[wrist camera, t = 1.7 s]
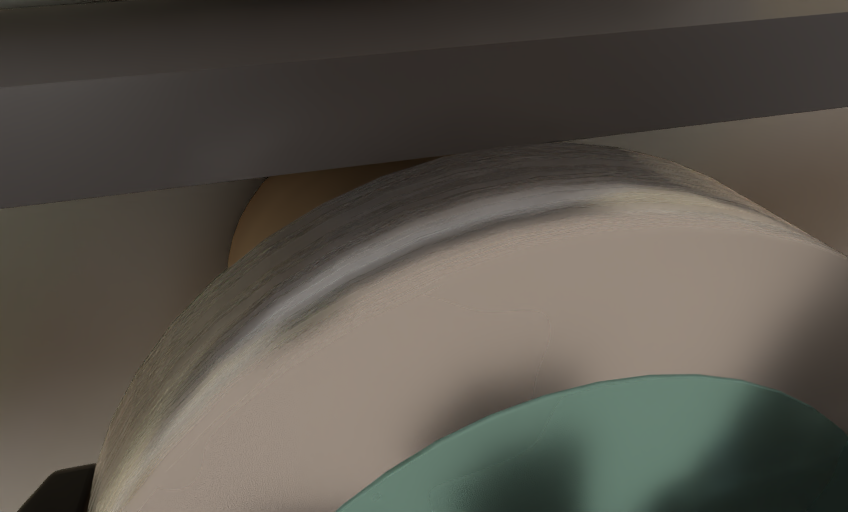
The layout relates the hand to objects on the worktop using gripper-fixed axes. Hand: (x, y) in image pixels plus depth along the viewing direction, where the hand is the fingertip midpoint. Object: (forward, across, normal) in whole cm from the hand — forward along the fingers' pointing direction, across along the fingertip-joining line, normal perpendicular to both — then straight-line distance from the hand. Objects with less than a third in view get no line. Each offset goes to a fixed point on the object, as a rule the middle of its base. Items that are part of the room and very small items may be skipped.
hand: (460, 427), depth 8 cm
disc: (-1, 0, 0) cm, 1 cm away
